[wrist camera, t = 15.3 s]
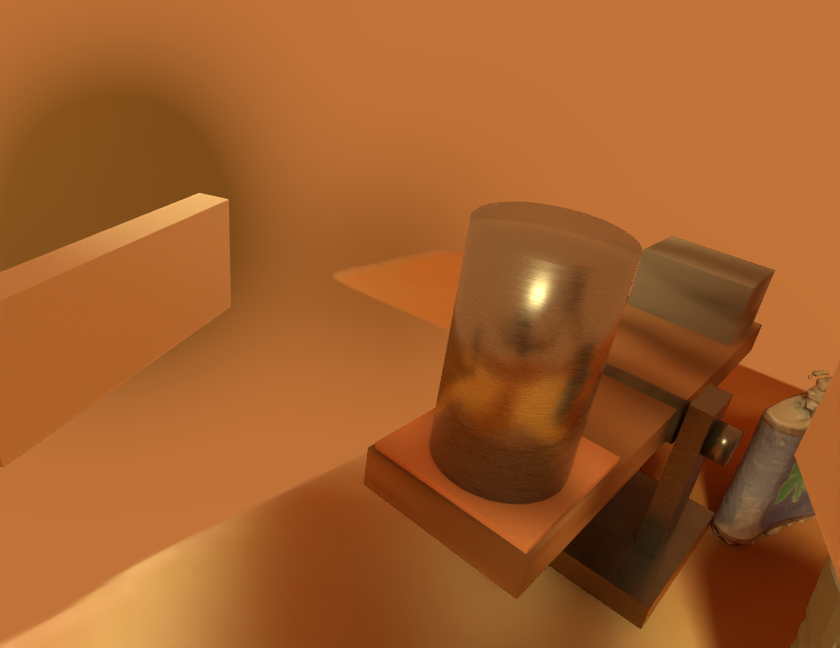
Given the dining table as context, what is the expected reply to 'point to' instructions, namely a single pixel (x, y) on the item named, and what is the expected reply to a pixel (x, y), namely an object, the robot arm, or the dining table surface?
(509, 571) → the beam
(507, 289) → the glass jar
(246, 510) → the dining table surface
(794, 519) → the flask
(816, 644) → the grey cylindrical container
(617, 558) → the beam stand
